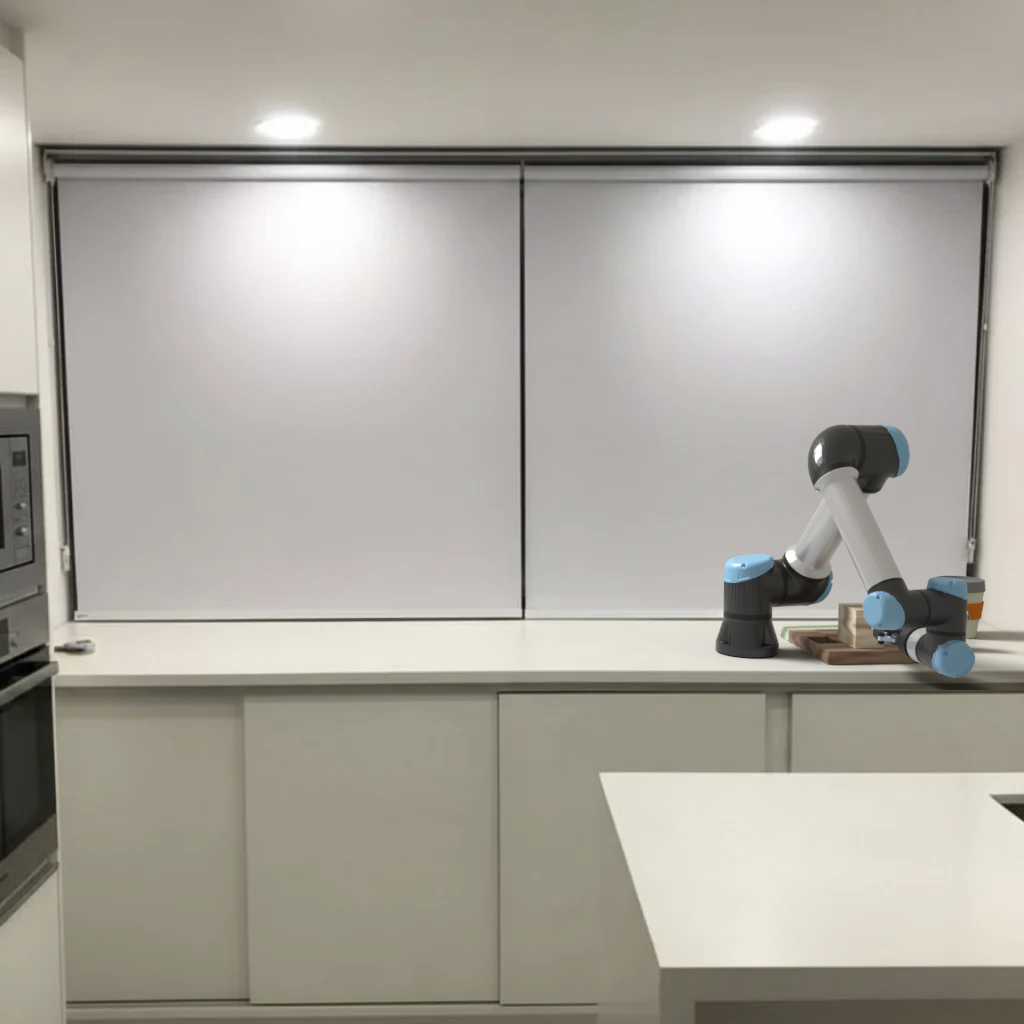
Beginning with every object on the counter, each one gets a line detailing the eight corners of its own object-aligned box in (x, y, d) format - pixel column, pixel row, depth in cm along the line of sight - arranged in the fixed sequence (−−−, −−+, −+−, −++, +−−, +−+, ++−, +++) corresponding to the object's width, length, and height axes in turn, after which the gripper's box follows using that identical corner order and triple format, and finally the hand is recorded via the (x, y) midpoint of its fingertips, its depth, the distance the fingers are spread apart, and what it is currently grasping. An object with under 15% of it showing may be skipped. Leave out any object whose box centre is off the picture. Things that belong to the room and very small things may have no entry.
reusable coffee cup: (923, 634, 278) (925, 578, 276) (946, 628, 286) (948, 574, 284) (969, 642, 268) (972, 584, 267) (992, 635, 276) (994, 579, 275)
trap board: (919, 662, 245) (920, 650, 245) (828, 664, 243) (828, 651, 243) (861, 635, 277) (861, 624, 276) (780, 636, 275) (780, 625, 274)
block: (883, 647, 247) (885, 610, 246) (855, 648, 246) (856, 610, 245) (865, 639, 257) (866, 602, 256) (837, 639, 256) (838, 603, 255)
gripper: (892, 663, 222) (846, 640, 245) (951, 661, 223) (900, 639, 247) (893, 627, 221) (847, 608, 245) (952, 627, 223) (901, 607, 246)
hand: (874, 623), depth 246 cm, fingers closed
